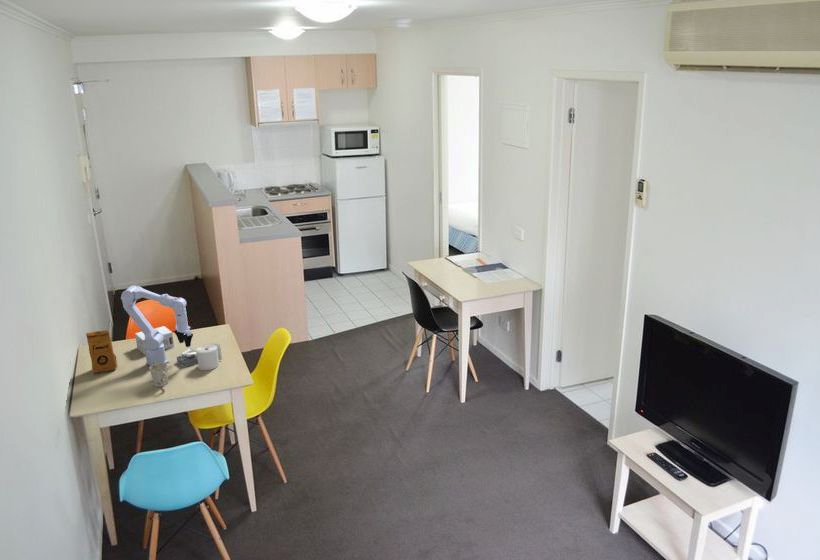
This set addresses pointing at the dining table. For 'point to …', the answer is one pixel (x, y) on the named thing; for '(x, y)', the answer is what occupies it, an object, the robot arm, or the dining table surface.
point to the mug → (159, 374)
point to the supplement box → (167, 342)
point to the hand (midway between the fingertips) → (185, 344)
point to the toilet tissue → (208, 356)
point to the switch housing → (187, 360)
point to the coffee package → (101, 351)
